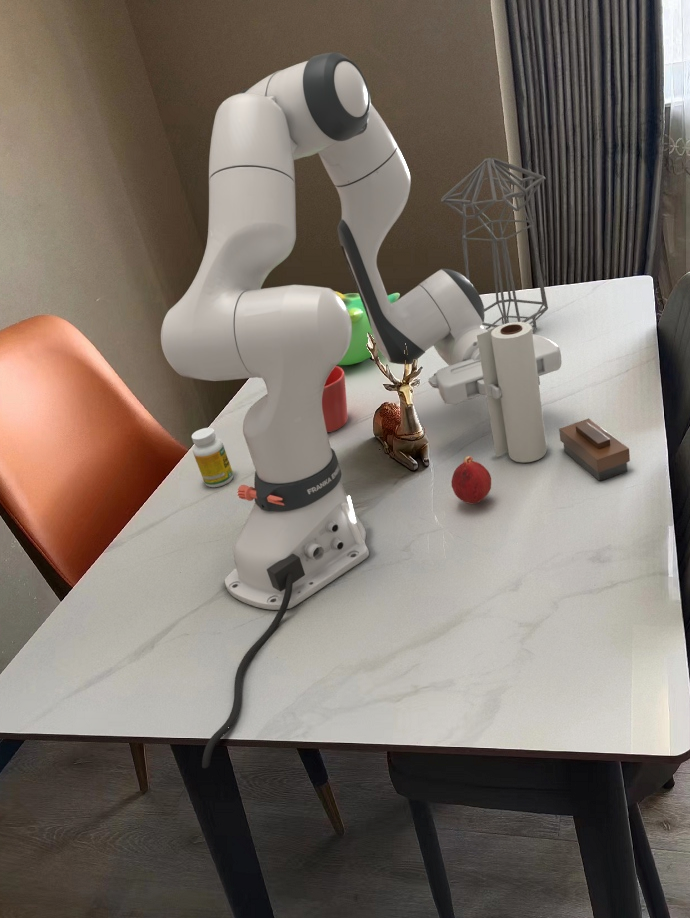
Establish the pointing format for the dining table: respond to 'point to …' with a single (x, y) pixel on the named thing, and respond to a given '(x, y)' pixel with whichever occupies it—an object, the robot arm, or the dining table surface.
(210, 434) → the supplement bottle
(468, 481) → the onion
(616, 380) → the dining table surface
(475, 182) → the geometric lantern
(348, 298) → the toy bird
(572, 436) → the chalkboard eraser
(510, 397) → the paper towel roll
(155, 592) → the dining table surface
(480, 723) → the dining table surface
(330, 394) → the flower pot
